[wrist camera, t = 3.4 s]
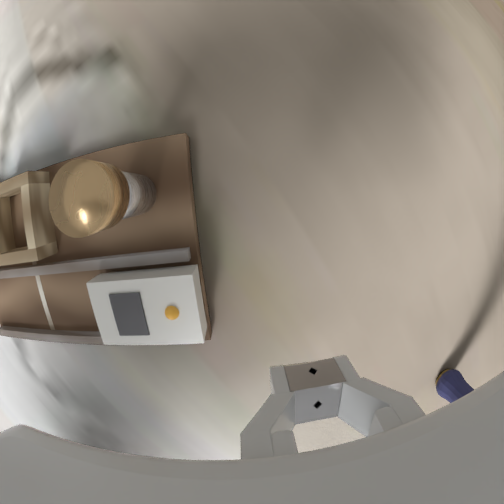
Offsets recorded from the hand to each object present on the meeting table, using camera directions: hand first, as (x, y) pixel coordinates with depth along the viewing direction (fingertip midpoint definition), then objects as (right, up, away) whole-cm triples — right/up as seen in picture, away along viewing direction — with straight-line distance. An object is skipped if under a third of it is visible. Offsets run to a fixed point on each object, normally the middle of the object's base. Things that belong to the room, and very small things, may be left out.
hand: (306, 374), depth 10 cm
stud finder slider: (-10, +1, +10) cm, 14 cm away
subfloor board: (-19, +4, +11) cm, 22 cm away
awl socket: (-22, +8, +8) cm, 25 cm away
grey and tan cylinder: (-10, +9, +9) cm, 16 cm away
